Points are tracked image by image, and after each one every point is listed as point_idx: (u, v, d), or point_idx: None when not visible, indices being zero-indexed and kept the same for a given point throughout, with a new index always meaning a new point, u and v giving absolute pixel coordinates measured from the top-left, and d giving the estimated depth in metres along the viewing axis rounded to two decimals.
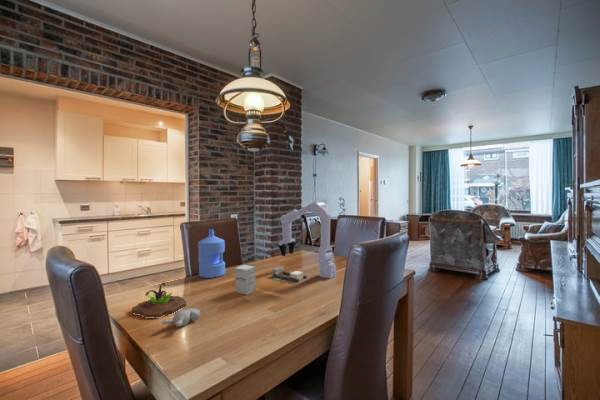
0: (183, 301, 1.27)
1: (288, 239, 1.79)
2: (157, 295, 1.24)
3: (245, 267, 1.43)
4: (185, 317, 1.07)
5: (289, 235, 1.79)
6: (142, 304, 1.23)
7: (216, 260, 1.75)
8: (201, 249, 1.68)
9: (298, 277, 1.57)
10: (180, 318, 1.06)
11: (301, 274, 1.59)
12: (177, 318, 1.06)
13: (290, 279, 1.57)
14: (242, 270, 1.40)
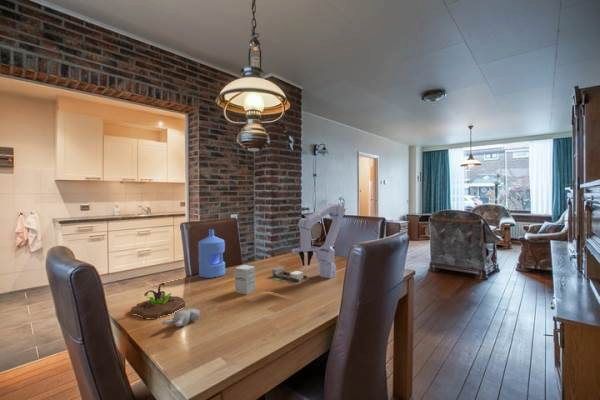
0: (183, 301, 1.26)
1: (303, 247, 1.53)
2: (156, 295, 1.23)
3: (244, 267, 1.43)
4: (185, 317, 1.07)
5: (305, 243, 1.52)
6: (141, 304, 1.23)
7: (216, 260, 1.75)
8: (201, 249, 1.68)
9: (298, 277, 1.57)
10: (180, 318, 1.06)
11: (301, 274, 1.59)
12: (177, 318, 1.06)
13: (290, 279, 1.57)
14: (242, 270, 1.40)
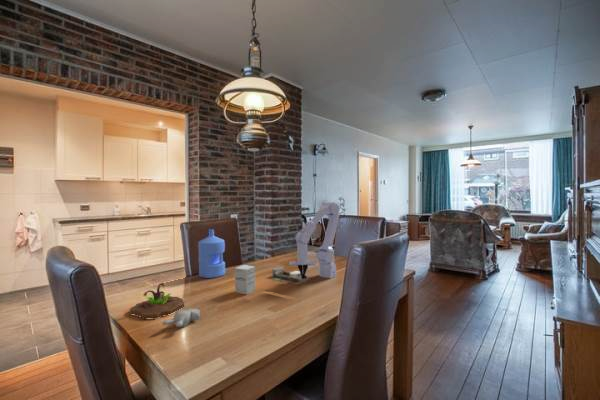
0: (182, 302, 1.26)
1: (300, 261, 1.54)
2: (155, 295, 1.23)
3: (244, 267, 1.43)
4: (185, 317, 1.07)
5: (301, 256, 1.54)
6: (140, 304, 1.23)
7: (216, 260, 1.75)
8: (201, 249, 1.68)
9: (298, 277, 1.57)
10: (180, 318, 1.06)
11: None
12: (177, 319, 1.06)
13: (290, 279, 1.57)
14: (242, 270, 1.40)
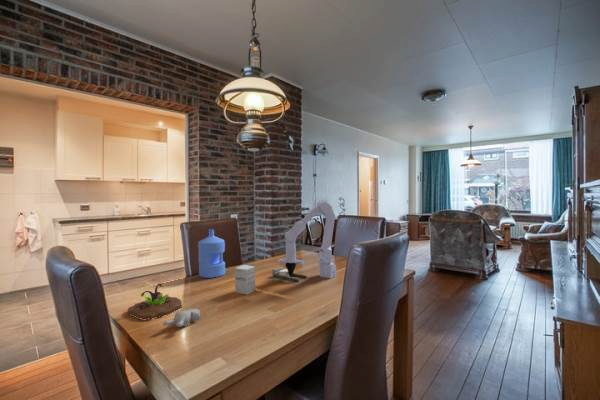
0: (179, 303, 1.25)
1: (286, 259, 1.60)
2: (153, 296, 1.23)
3: (244, 267, 1.43)
4: (186, 318, 1.07)
5: (287, 254, 1.59)
6: (138, 304, 1.23)
7: (216, 260, 1.75)
8: (201, 249, 1.68)
9: (286, 275, 1.61)
10: (181, 319, 1.06)
11: None
12: (178, 319, 1.06)
13: (290, 279, 1.57)
14: (242, 270, 1.40)
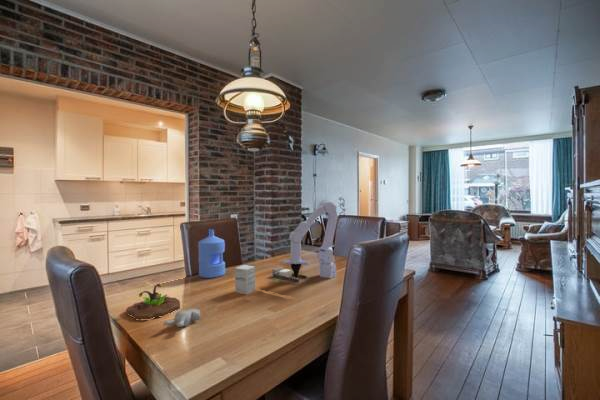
0: (177, 304, 1.24)
1: (292, 260, 1.57)
2: (151, 296, 1.22)
3: (245, 267, 1.43)
4: (186, 318, 1.07)
5: (293, 255, 1.57)
6: (137, 304, 1.23)
7: (216, 260, 1.75)
8: (201, 249, 1.68)
9: (286, 275, 1.61)
10: (181, 319, 1.06)
11: (289, 272, 1.64)
12: (178, 319, 1.06)
13: (290, 279, 1.57)
14: (242, 270, 1.40)
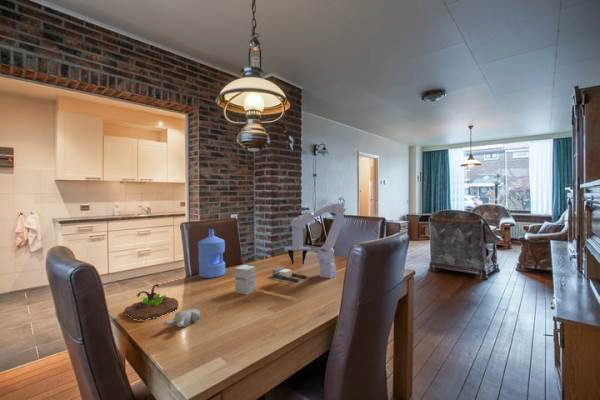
0: (175, 304, 1.23)
1: (294, 246, 1.56)
2: (149, 297, 1.22)
3: (245, 267, 1.43)
4: (186, 318, 1.07)
5: (295, 242, 1.56)
6: (135, 305, 1.23)
7: (216, 260, 1.75)
8: (201, 249, 1.68)
9: (286, 275, 1.61)
10: (181, 319, 1.06)
11: (289, 272, 1.64)
12: (178, 319, 1.06)
13: (290, 279, 1.57)
14: (242, 270, 1.40)
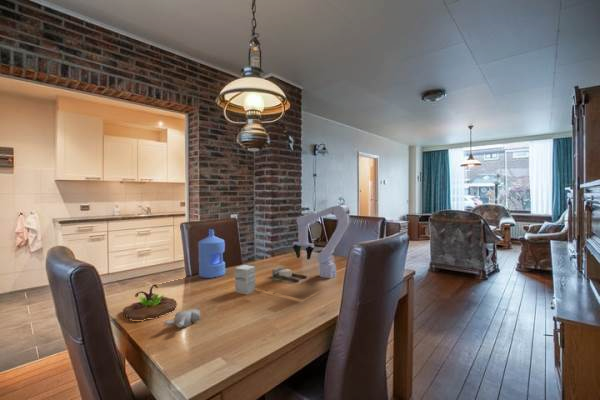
0: (173, 305, 1.22)
1: None
2: (147, 297, 1.22)
3: (245, 267, 1.43)
4: (186, 318, 1.07)
5: (299, 238, 1.70)
6: (134, 305, 1.23)
7: (216, 260, 1.75)
8: (201, 249, 1.68)
9: (286, 275, 1.61)
10: (181, 319, 1.05)
11: (289, 272, 1.64)
12: (178, 319, 1.05)
13: (290, 279, 1.57)
14: (242, 270, 1.40)
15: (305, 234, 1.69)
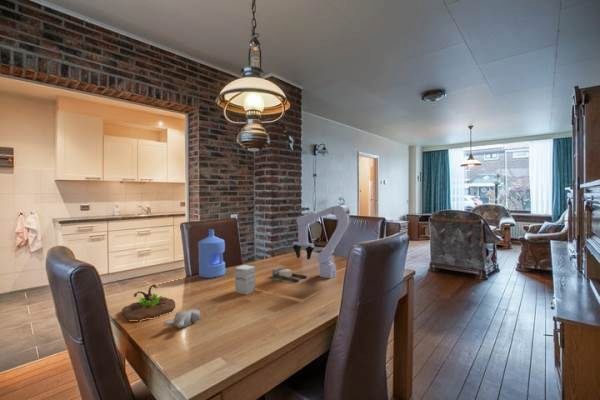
0: (171, 306, 1.22)
1: None
2: (146, 297, 1.21)
3: (245, 267, 1.43)
4: (186, 318, 1.06)
5: (299, 238, 1.70)
6: (133, 304, 1.23)
7: (216, 260, 1.75)
8: (201, 249, 1.68)
9: (286, 275, 1.61)
10: (181, 319, 1.05)
11: (289, 272, 1.64)
12: (178, 319, 1.05)
13: (290, 279, 1.57)
14: (242, 270, 1.40)
15: (305, 234, 1.69)
